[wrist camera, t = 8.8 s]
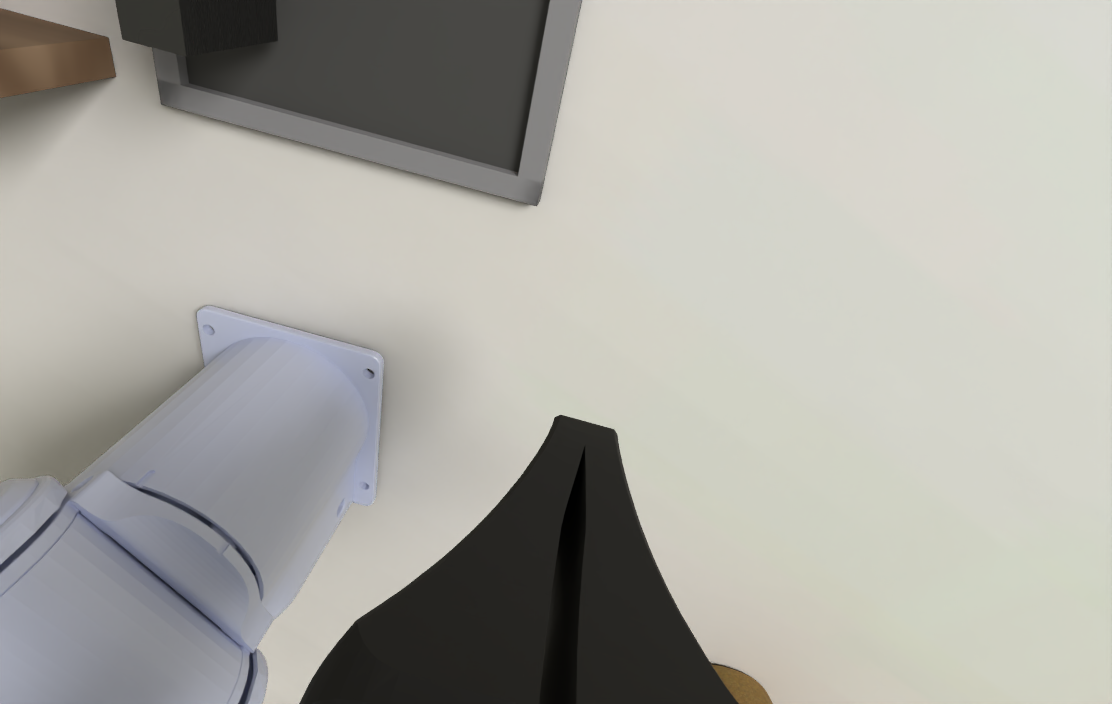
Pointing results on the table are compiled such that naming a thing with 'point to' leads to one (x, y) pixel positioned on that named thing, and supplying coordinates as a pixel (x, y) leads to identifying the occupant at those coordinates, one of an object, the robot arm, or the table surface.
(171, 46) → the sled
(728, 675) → the plant pot
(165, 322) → the table surface
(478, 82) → the grey flat square panel
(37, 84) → the tunnel
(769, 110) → the table surface
